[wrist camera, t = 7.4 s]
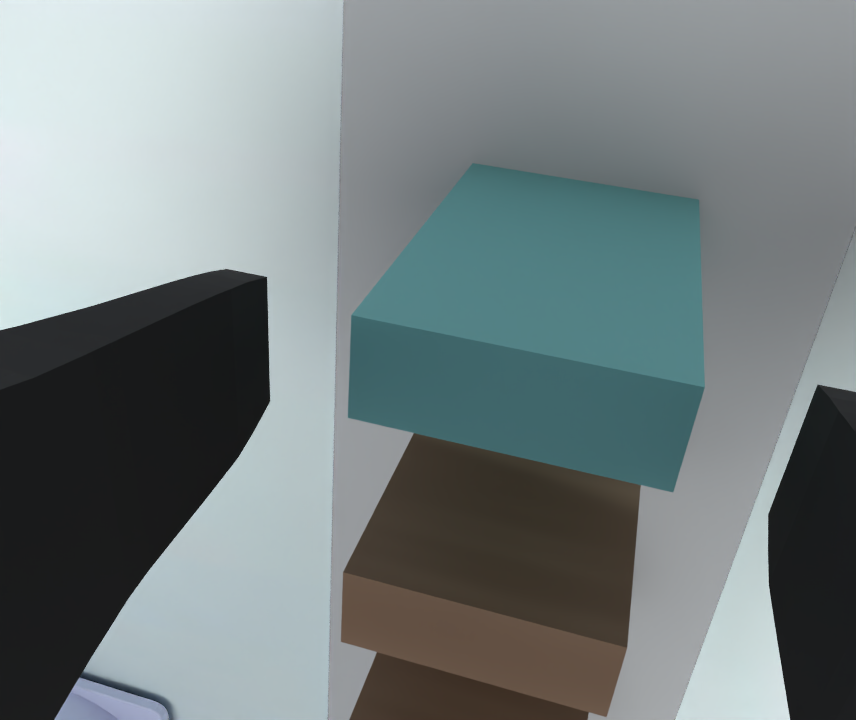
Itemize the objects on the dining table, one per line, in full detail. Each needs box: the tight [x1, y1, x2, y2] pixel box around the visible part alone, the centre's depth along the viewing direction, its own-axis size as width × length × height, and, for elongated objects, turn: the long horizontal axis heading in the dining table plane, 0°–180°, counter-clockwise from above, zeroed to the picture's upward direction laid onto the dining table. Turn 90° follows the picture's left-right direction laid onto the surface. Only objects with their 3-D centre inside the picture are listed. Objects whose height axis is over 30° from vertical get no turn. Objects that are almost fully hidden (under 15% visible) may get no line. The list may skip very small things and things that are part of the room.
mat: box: [328, 0, 856, 720], centre depth 21 cm, size 29×10×1 cm, turn 176°
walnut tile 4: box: [341, 433, 641, 717], centre depth 16 cm, size 2×4×7 cm, turn 86°
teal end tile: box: [348, 163, 705, 492], centre depth 13 cm, size 2×4×7 cm, turn 85°
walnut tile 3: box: [349, 652, 589, 720], centre depth 18 cm, size 2×4×7 cm, turn 86°
